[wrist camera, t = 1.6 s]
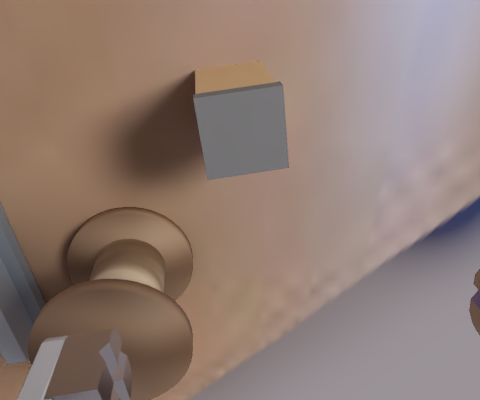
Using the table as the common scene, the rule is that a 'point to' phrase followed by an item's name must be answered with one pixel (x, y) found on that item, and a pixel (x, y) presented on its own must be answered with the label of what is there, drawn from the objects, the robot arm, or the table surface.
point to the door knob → (127, 295)
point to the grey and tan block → (240, 120)
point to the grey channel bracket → (16, 297)
